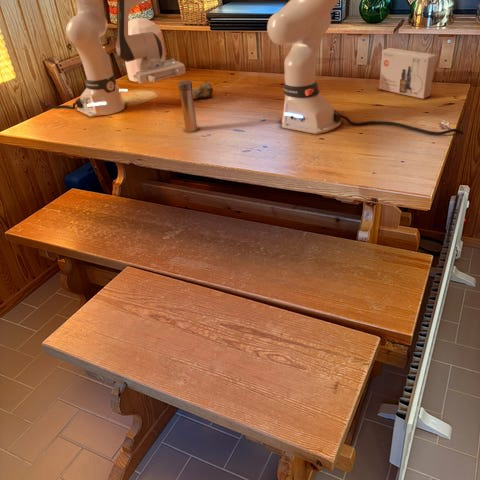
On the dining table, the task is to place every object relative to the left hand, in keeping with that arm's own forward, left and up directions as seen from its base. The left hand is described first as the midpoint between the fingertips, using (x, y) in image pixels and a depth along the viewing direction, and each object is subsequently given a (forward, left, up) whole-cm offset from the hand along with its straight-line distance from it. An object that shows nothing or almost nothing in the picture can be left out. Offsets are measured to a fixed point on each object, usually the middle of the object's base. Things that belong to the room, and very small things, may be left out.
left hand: (166, 77), depth 183 cm
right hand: (+22, +21, +33) cm, 45 cm away
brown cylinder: (+20, -10, -15) cm, 26 cm away
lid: (+20, -10, +2) cm, 22 cm away
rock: (-4, +22, -15) cm, 27 cm away
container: (-54, +36, -15) cm, 67 cm away
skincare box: (+73, +61, -15) cm, 96 cm away
